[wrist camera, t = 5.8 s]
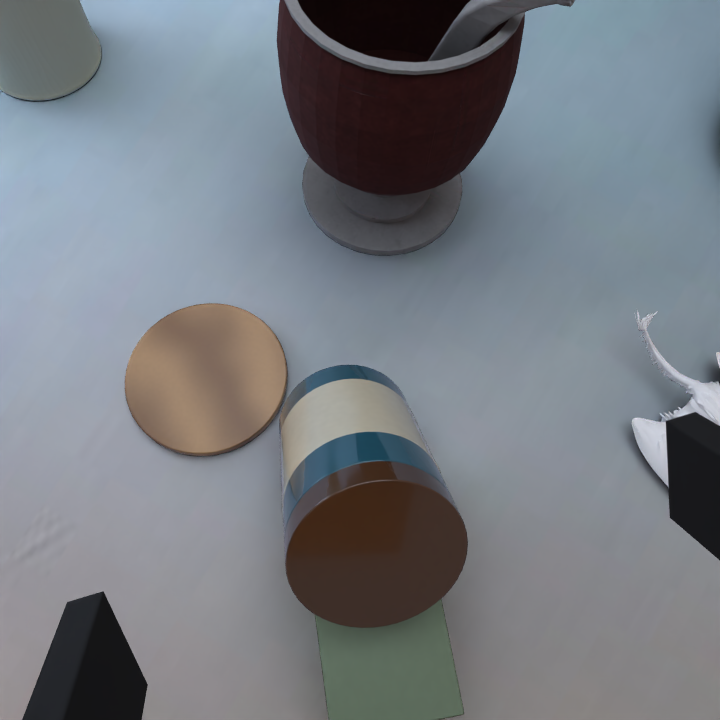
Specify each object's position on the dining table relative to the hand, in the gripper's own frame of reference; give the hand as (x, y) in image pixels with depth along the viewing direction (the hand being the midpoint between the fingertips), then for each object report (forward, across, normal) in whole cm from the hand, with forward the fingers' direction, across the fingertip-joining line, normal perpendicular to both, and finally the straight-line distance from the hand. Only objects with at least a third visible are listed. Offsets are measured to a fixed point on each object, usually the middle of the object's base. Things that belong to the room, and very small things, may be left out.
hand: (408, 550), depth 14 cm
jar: (+22, 0, -13) cm, 25 cm away
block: (+16, -1, -19) cm, 25 cm away
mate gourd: (+36, +9, +3) cm, 38 cm away
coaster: (+28, -7, -4) cm, 30 cm away
